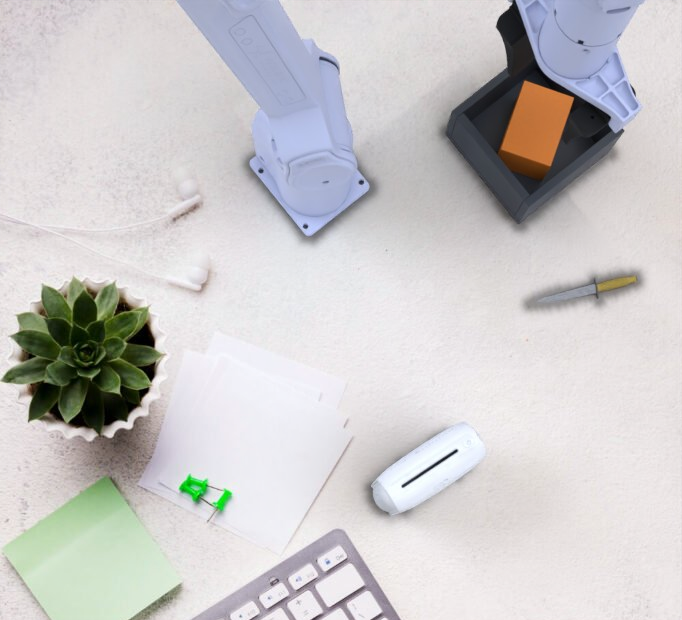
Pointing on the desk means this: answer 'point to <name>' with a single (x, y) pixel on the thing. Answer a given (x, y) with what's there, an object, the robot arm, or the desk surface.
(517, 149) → the block
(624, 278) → the dagger
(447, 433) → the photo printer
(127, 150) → the desk surface
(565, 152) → the bin
